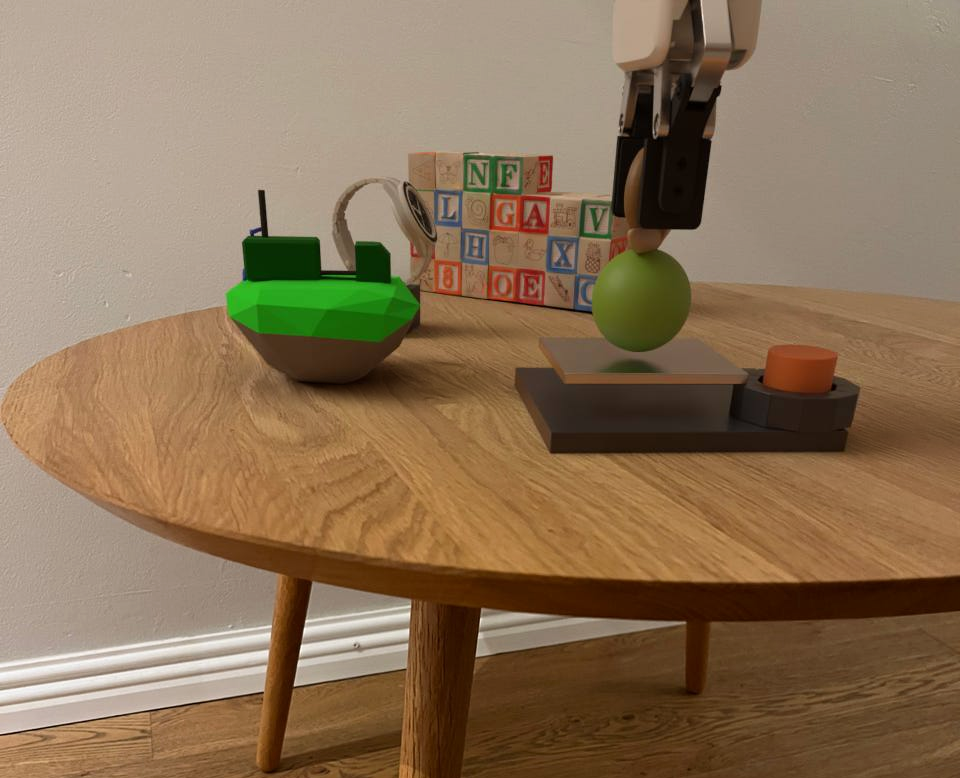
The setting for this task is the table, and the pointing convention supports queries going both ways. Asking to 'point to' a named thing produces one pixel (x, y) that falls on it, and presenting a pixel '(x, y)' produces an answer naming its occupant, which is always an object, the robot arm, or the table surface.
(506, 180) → the stack of blocks
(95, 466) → the table surface
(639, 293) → the snail figurine
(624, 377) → the scale pan
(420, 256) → the watch
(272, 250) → the floating island model
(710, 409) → the scale
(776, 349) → the tare button
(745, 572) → the table surface
